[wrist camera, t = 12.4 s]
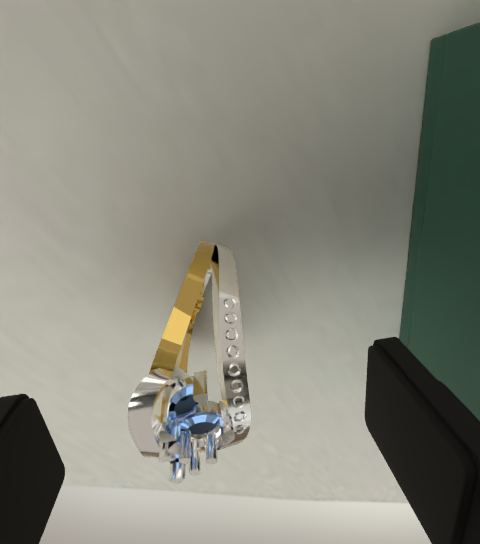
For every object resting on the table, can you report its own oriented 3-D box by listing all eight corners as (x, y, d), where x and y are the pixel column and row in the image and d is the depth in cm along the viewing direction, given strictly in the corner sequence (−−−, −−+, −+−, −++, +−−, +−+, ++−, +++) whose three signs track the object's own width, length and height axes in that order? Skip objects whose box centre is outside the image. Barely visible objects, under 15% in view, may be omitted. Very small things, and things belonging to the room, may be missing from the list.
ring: (201, 361, 17) (209, 541, 10) (136, 347, 16) (91, 532, 9) (251, 232, 15) (311, 340, 7) (178, 208, 14) (163, 303, 7)
